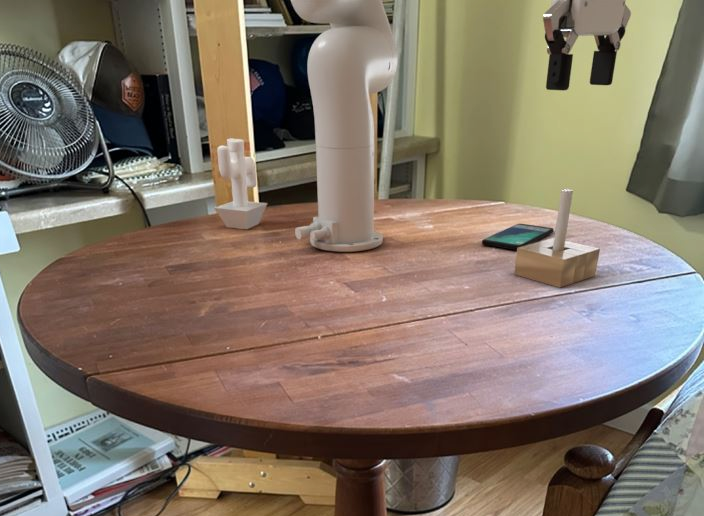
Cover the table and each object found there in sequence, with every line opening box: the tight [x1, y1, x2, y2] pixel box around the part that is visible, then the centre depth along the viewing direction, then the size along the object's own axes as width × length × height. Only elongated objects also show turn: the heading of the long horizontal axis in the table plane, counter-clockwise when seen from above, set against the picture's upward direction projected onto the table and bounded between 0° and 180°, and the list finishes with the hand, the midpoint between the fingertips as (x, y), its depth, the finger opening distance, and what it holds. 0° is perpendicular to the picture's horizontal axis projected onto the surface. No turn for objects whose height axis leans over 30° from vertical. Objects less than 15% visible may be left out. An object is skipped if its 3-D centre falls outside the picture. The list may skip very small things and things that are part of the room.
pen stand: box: [514, 237, 601, 289], centre depth 104 cm, size 8×8×4 cm
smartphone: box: [481, 223, 555, 251], centre depth 122 cm, size 7×1×15 cm
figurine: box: [213, 137, 268, 230], centre depth 129 cm, size 7×9×15 cm
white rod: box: [553, 188, 574, 252], centre depth 101 cm, size 2×2×12 cm
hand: (579, 87), depth 94 cm, fingers open, 9 cm apart
